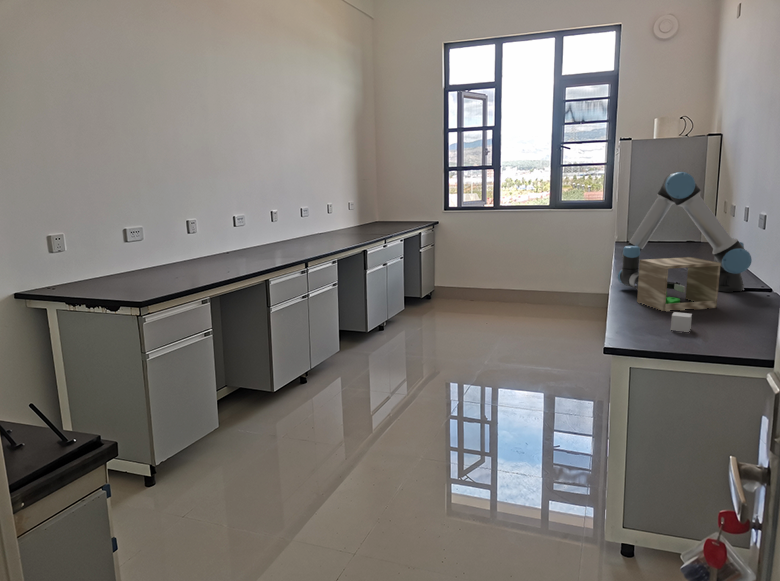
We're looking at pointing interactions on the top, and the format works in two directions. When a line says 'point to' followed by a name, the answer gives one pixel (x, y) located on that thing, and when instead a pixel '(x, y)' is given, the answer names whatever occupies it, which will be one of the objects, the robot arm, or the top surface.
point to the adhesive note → (681, 321)
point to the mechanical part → (672, 300)
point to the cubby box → (698, 283)
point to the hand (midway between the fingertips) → (670, 290)
